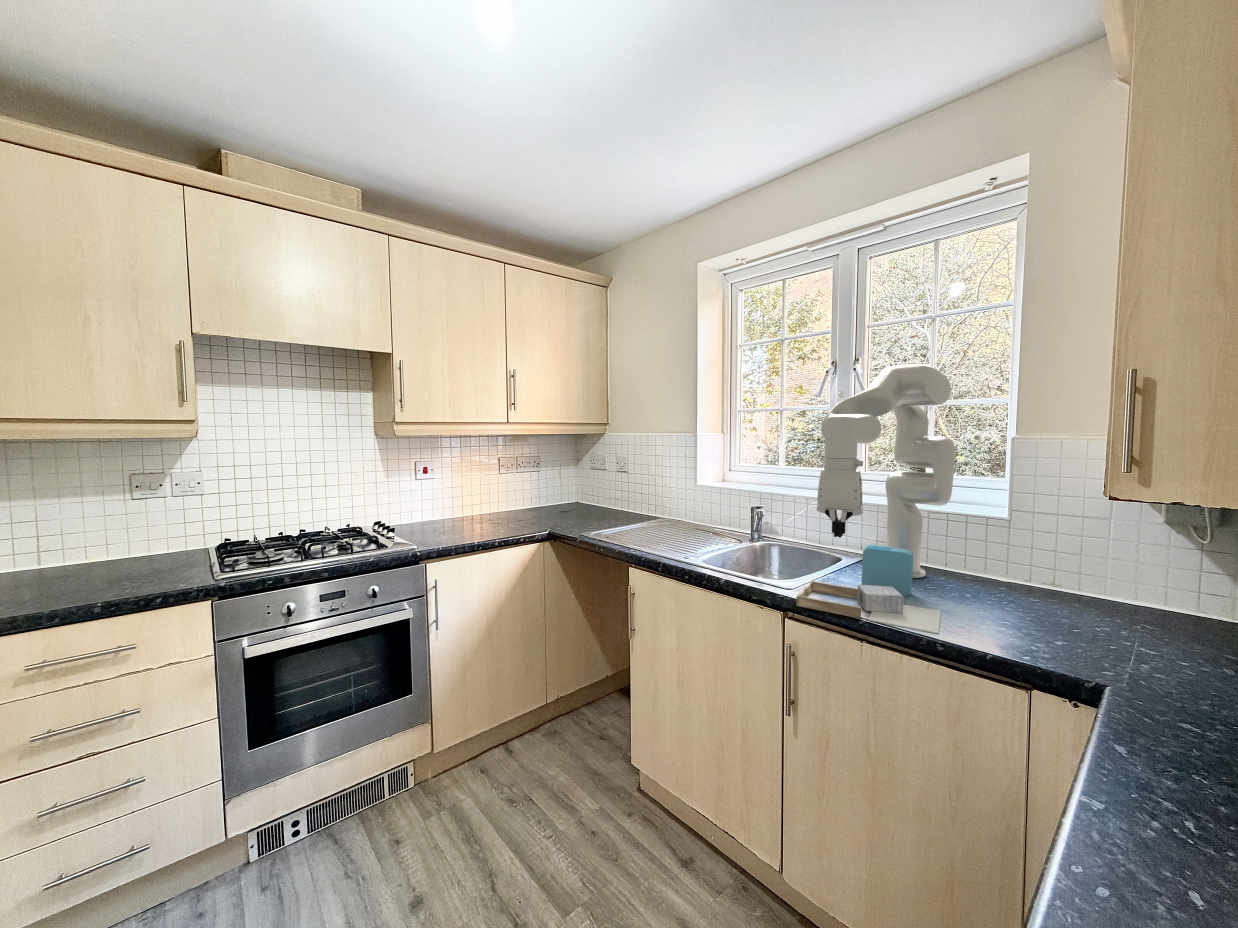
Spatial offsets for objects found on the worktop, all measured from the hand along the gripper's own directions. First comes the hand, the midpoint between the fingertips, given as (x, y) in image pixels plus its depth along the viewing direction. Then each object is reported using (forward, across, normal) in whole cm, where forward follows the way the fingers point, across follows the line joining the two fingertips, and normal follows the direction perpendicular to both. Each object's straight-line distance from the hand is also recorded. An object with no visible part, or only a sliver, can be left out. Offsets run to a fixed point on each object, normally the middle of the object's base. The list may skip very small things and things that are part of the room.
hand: (838, 535), depth 132 cm
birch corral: (+17, 0, +1) cm, 17 cm away
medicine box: (+15, -6, 0) cm, 16 cm away
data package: (+18, -10, -17) cm, 27 cm away
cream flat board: (+18, -16, +1) cm, 24 cm away
